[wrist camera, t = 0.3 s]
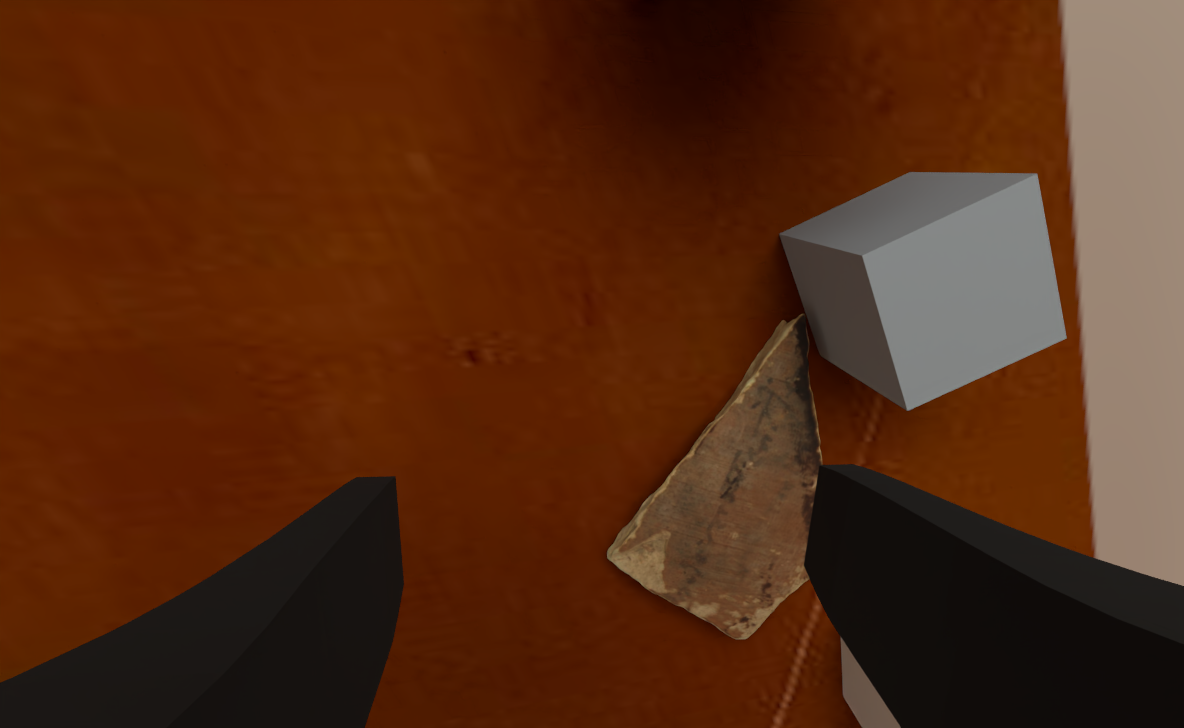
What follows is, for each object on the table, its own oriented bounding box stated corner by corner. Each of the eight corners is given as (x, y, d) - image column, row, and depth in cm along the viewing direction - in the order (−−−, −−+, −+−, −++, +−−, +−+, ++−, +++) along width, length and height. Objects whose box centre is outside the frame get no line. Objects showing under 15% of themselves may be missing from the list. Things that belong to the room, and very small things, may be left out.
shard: (784, 302, 20) (808, 315, 19) (931, 418, 22) (964, 439, 21) (594, 537, 22) (601, 568, 21) (745, 623, 24) (761, 657, 23)
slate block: (940, 298, 20) (1067, 337, 16) (819, 354, 21) (907, 411, 16) (908, 172, 19) (1037, 173, 14) (778, 233, 19) (862, 255, 14)
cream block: (942, 672, 26) (1036, 784, 21) (842, 695, 26) (914, 813, 21) (945, 586, 24) (1047, 687, 20) (838, 610, 24) (915, 717, 19)
